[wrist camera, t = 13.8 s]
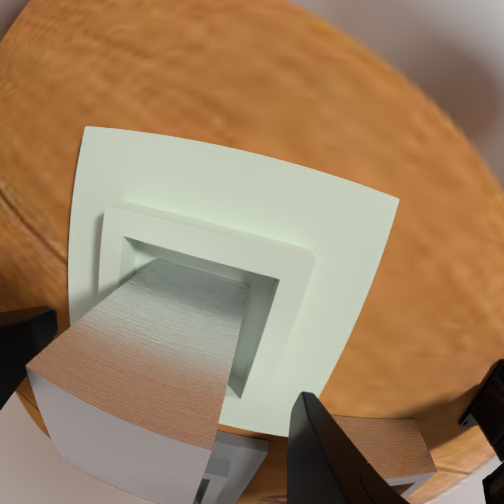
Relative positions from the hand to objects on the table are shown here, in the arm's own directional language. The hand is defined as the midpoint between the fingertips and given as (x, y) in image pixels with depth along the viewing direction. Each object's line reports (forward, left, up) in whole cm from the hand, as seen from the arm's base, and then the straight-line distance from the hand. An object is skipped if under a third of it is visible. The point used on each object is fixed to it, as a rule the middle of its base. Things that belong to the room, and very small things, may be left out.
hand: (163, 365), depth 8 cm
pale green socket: (0, 0, -5) cm, 5 cm away
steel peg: (0, 0, -4) cm, 4 cm away
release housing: (-12, +9, -5) cm, 16 cm away
